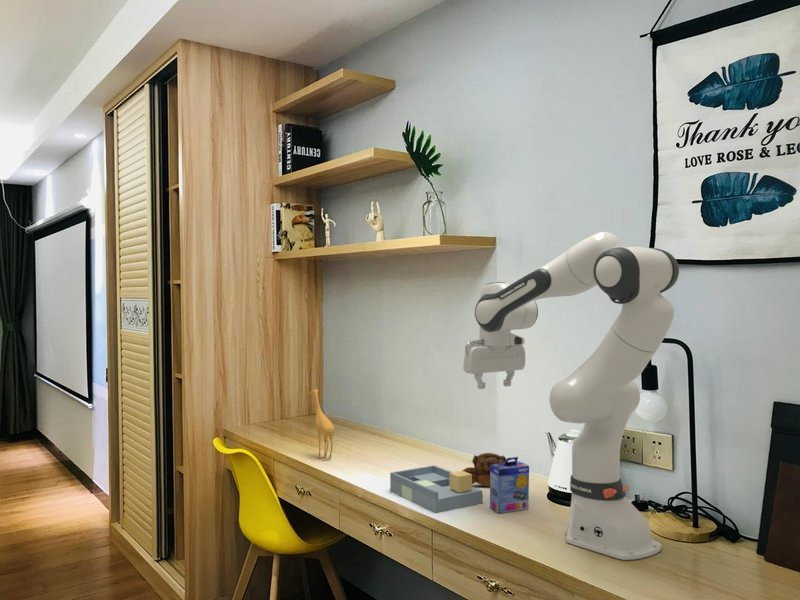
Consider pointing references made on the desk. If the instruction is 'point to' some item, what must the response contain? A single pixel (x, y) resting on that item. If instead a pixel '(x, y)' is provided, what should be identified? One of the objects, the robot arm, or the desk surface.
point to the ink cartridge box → (509, 486)
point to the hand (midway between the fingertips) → (494, 387)
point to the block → (460, 481)
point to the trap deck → (432, 489)
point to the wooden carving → (483, 467)
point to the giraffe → (323, 424)
